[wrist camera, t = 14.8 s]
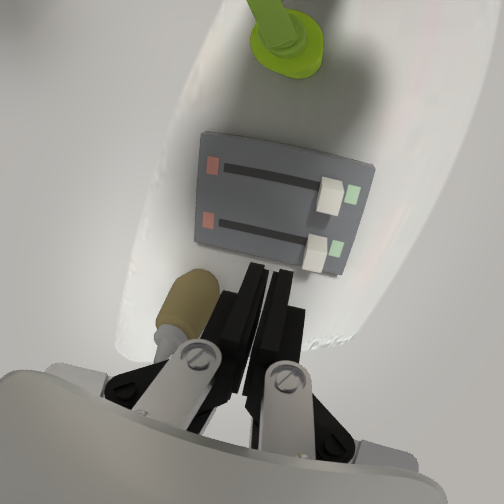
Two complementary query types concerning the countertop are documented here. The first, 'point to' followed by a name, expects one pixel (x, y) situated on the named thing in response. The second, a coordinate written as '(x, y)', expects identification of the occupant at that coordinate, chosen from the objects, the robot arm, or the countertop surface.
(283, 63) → the soap dispenser
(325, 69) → the countertop surface
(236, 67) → the countertop surface
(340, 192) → the block
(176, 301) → the squeeze bottle
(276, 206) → the slider switch panel
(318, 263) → the block
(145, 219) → the countertop surface
